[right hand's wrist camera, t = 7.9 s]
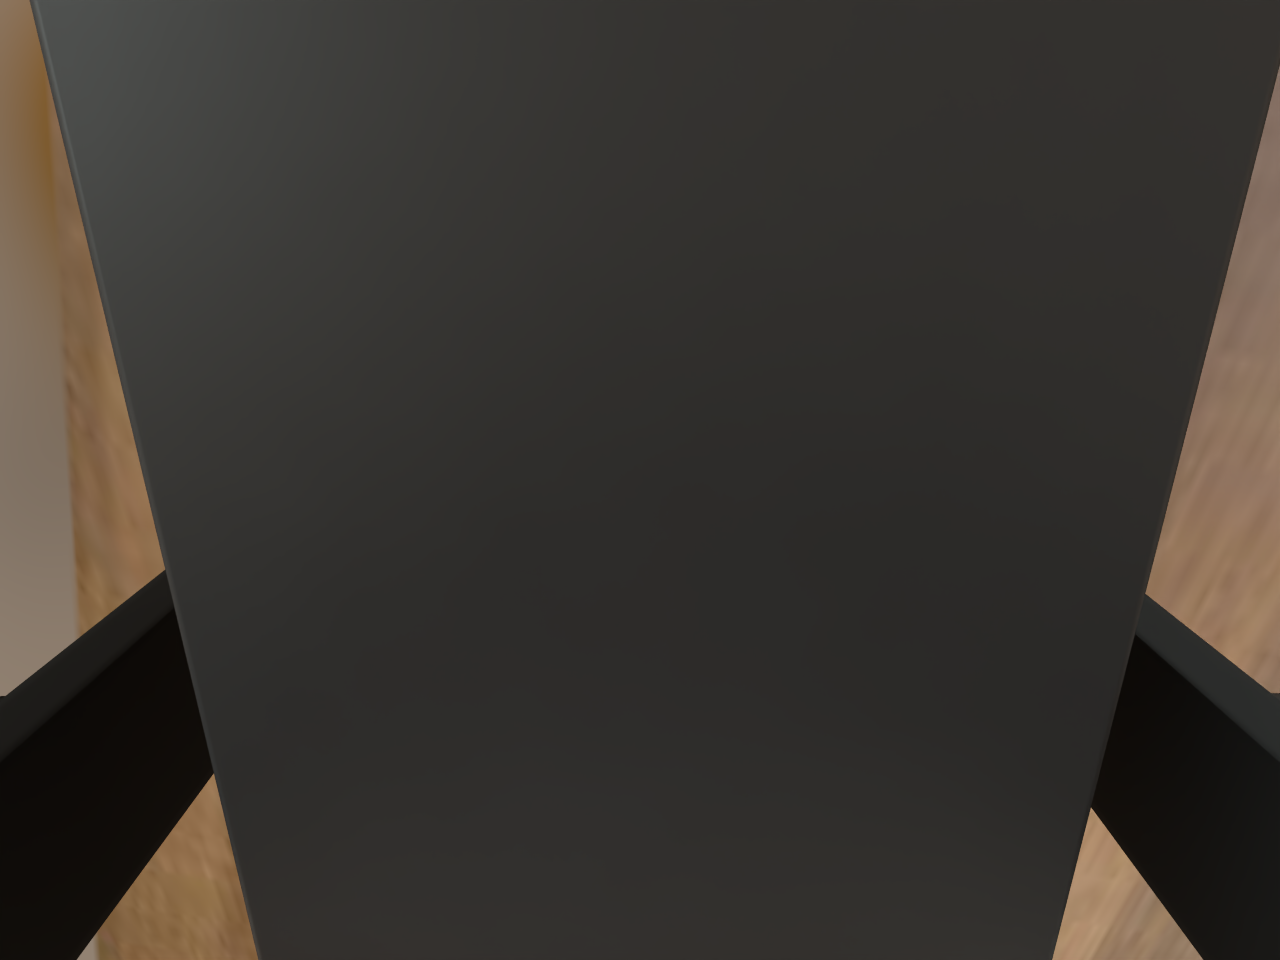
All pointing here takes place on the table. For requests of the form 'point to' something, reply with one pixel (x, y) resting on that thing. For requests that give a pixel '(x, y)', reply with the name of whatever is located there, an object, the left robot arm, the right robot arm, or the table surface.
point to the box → (659, 443)
